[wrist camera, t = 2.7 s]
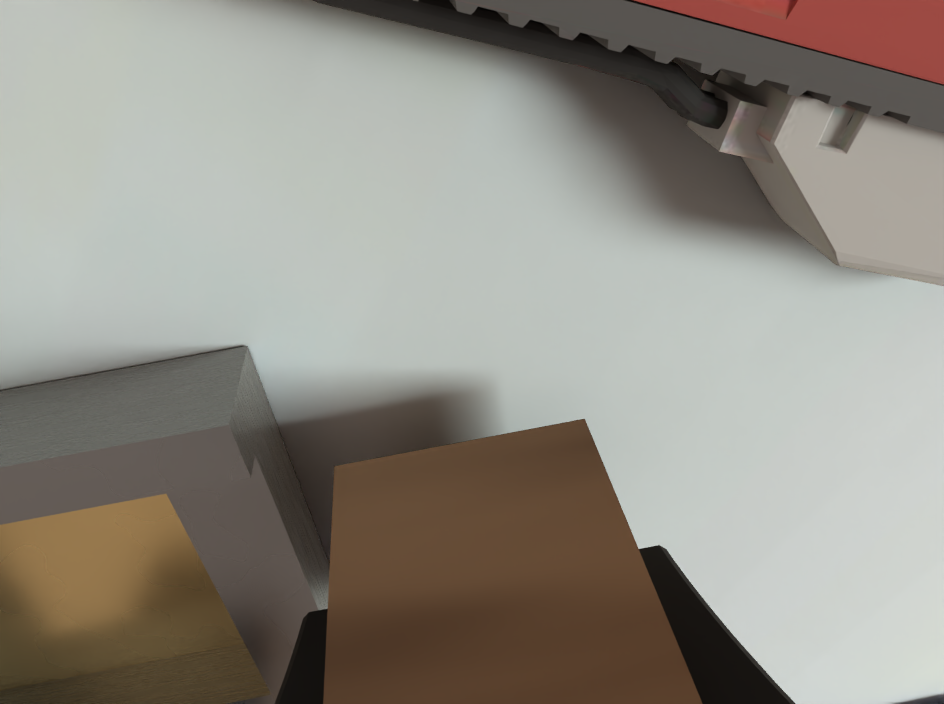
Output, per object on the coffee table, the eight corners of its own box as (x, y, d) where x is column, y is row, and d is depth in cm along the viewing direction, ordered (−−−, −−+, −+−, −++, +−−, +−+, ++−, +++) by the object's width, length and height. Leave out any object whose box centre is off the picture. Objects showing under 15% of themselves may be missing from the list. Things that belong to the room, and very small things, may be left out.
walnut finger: (596, 602, 14) (726, 1001, 9) (392, 643, 14) (409, 1070, 9) (584, 419, 11) (756, 832, 6) (334, 466, 11) (313, 925, 6)
